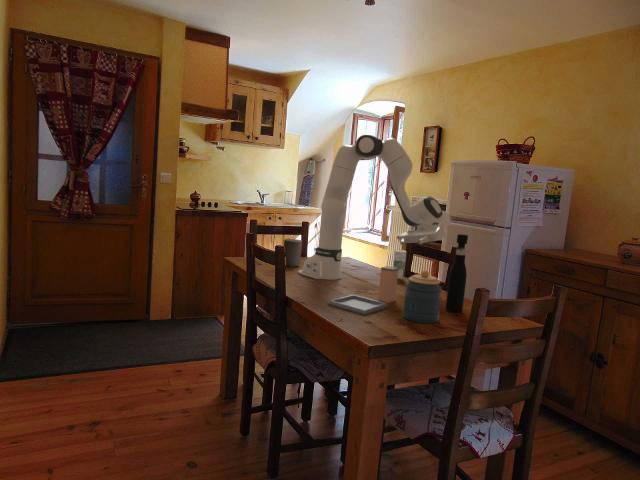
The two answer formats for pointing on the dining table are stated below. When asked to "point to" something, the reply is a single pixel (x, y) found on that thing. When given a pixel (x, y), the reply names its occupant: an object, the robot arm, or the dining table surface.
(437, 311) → the canister
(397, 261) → the syrup box
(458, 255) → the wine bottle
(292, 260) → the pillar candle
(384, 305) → the tray
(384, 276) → the tea tin
